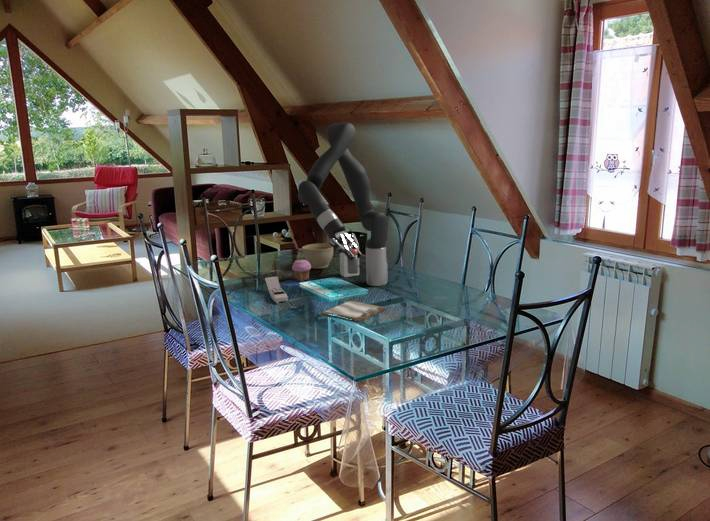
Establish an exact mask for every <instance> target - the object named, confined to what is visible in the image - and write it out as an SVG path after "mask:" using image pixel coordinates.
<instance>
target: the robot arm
mask: <svg viewBox="0 0 710 521" xmlns="http://www.w3.org/2000/svg"><path fill="white" fill-rule="evenodd" d="M356 136H357V131H356V128H355V126H354V125H353V124H352V122H340V123H339V122H338V123H333V124H330V125H328V127H327V129H326V138H327V140H328V142H329V145H330V147H329V148H328V149H327V150H326V151H325V152H323V153H322V155H320V156H319V157H318V158H317V159H316V161H314V163H313V165H312V166H311V168H310V170H309V171H308V174H307V178H306V180H303V181H301V182H300V183H299V184H298V188H297V198H298V201H299V202H300V203H301V204H303V205H307V206H308V208H309V211H310V213H311V215H312V216H313V217H314V219H315V220H316V221H317V224H318V225H319V227H320V228H321V229H322V230H323V232H324V233H325V235H326V236H327V237H328V239H330V241H329V243H328V244H330V245H331V246H332V247H333V248H334V250H336V252H337V253H339V254H340V253H344V254H345V255H346V256H347V257H348V259H350V260H353V259H354V258H355V257H354V255H353V254H352V253H351V251H350V250H348V247H349V248H350V249H357V255H358V258H359V259H360V258H361V257H362V256H363V254H362V252H361V251H360V249H359V250H358V248H357V246H360V244H359V242H358V239H357V237H356V234H355V233H353V232H352V233H351V234H349V232H347V231H346V226H345V225H344V224H343V222H342V221H341V220H340V219H339V217H338V216H337V215H336V213H335V212H334V211H333V210H332V209H331V207H330V206H329V205H328V203H327V202H325V200H324V198H323V196H322V194H321V192H320V190H321V188H322V185H323V183H324V182H325V180H326V179H327V177H328V175H329V174H330V172H331V170H332V169H333V167H334V165H335V164H336V163H337V162H338V163H339V166H340V167H341V170H342V172H343V175H344V178H345V180H346V184H347V186H348V188H349V190H350V194H352V198H353V201H354V203H355V205H356V207H357V212H358V216H359V219H360V224H361V226H362V227H363V228H364V229H365V230H366V231H368V232H370V238H369V239H366V241H365V269H366V270H365V271H366V274H365V276H366V285H368V286H372V287H381V286H385V285H387V283H388V279H389V278H388V262H387V242H388V237H389V220H388V217H387V215H386V214H385V213H384V212H381V211H376V210H375V209H374V207H373V205H372V204H373V203H372V201H371V199H370V192H371V191H370V190H371V182H370V179H369V177H368V173H367V172H366V169H365V167H364V166H363V165H362V164H361V163H360V161H359V160H357V158H355V156H353V155H352V153H351V151H350V150H349V147H351V145H352V144H353V142H354V141H355V139H356ZM351 244H352V246H353V247H352V246H351Z"/></svg>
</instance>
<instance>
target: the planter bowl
mask: <svg viewBox="0 0 710 521" xmlns="http://www.w3.org/2000/svg"><path fill="white" fill-rule="evenodd" d="M301 247H302V249H301V250H302V253H303V257H304V260H307V261H308V262H309V263H310V265H311V269H315V270H316V269H319V270H320V269H326V268H328V267H329V264H330V263H331V261H332V259H333V256H334V250H335V248H333V247H332V246H331V245H330V244H329V243H311V244H306V245H304V246H301Z"/></svg>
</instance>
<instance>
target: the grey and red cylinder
mask: <svg viewBox="0 0 710 521" xmlns="http://www.w3.org/2000/svg"><path fill="white" fill-rule="evenodd" d="M348 250H350V251H351V253H352V254H353V255H354V257H355V258H354V259H353V260H350V259H348V257H347V267H348V273H349V274H356V273H358V255H357V249H348Z"/></svg>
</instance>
